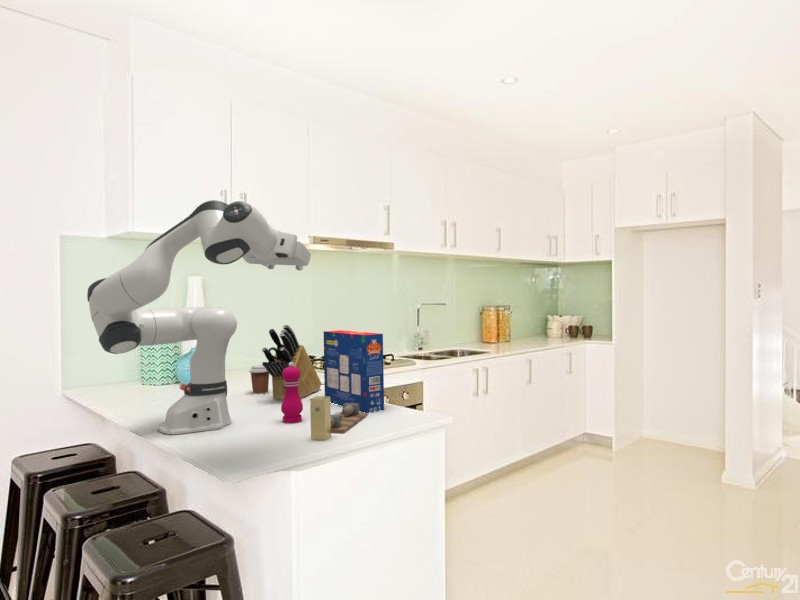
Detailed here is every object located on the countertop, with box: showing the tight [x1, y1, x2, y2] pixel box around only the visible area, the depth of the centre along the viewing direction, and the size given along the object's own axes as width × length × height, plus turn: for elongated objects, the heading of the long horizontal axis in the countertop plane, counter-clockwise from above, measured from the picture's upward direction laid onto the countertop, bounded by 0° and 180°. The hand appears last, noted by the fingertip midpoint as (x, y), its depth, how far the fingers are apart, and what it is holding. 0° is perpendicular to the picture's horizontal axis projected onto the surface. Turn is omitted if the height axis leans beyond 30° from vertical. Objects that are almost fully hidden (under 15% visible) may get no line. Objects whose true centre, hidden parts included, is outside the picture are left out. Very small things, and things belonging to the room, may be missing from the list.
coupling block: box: [309, 395, 332, 441], centre depth 161 cm, size 5×4×12 cm
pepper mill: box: [280, 362, 304, 424], centre depth 183 cm, size 7×7×20 cm
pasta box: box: [323, 329, 385, 414], centre depth 206 cm, size 28×8×28 cm, turn 39°
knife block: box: [261, 324, 322, 401], centre depth 225 cm, size 11×35×31 cm, turn 166°
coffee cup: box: [248, 364, 270, 395], centre depth 235 cm, size 9×9×12 cm
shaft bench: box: [331, 403, 369, 434], centre depth 178 cm, size 24×10×4 cm, turn 166°
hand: (286, 267), depth 161 cm, fingers open, 8 cm apart
